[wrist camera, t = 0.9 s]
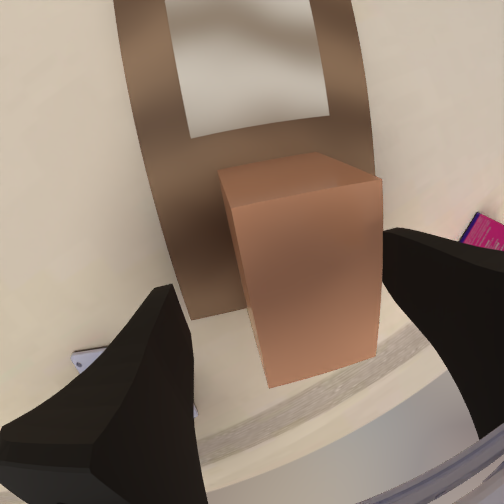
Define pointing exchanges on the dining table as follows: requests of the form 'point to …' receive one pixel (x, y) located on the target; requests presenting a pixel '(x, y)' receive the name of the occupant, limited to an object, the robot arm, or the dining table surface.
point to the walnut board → (235, 112)
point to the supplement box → (484, 233)
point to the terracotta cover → (307, 261)
